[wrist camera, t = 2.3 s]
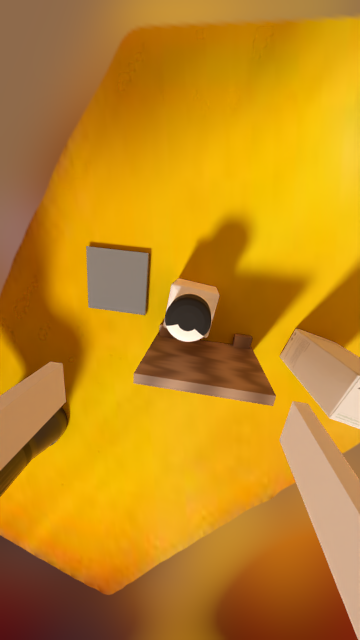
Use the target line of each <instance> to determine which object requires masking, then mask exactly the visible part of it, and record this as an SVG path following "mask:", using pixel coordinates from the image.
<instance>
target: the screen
mask: <svg viewBox="0 0 360 640" xmlns="http://www.w3.org/2000/svg"><path fill="white" fill-rule="evenodd" d="M163 325H164V324H162V323H161V324H160V330H159V334H157V336H156V337H155V339H154V341H153V342H152V344H151V346H150V347H149V349H148V351H147V352H146V354H145V356H144V357H143V359H142V361H141V362H140V364H139V366H138V367H137V369H136V371H135V372H134V383H136V384H142V385H148V386H155V387H161V388H167V389H173V390H179V391H185V392H191V393H197V394H203V395H209V396H216V397H222V398H228V399H234V400H240V401H246V402H252V403H258V404H264V405H271V406H273V404H274V401H275V397H276V395H275V393H274V391H273V389H272V387H271V385H270V383H269V381H268V379H267V377H266V375H265V373H264V371H263V369H262V367H261V365H260V363H259V361H258V359H257V357H256V355H255V353H254V352H253V350H252V348H251V347H250V346H251V342H252V336H248V335H241V334H235V335H234V340H233V345H232V344H225V343H218V342H211V341H204V340H197V341H192V342H185V341H181V340H179V339H177V338H175V337H174V336H172V335H171V334H170V332H169V331H168V329H167V328H164V326H163Z"/></svg>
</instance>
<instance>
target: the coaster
mask: <svg viewBox="0 0 360 640" xmlns="http://www.w3.org/2000/svg"><path fill="white" fill-rule="evenodd" d="M86 248H87V275H88V303H89V307H90V308H97V309H105V310H112V311H119V312H127V313H134V314H141V315H145V314H146V307H147V289H148V271H149V253H143V252H134V251H125V250H116V249H107V248H98V247H89V246H86Z"/></svg>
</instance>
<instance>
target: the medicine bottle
mask: <svg viewBox="0 0 360 640" xmlns="http://www.w3.org/2000/svg"><path fill="white" fill-rule="evenodd" d="M218 299H219V293H218V290H217V288H216V287H214V286H210V285H206V284H201V283H197V282H193V281H189V280H184V279H180V278H178V279H177V280H176V281H175V282H174V283H173V284H172V285H171V290H170V295H169V300H168V305H167V310H166V315H165V320H164V325H163V326H164V328H167V329H168V331H169V332H170V334H171V335H172V336H174V337H175V338H177V339H179V340H181V341H185V342H192V341H197V340H199V339H201V338H202V337H204V338H207V337H208V335H209V331H210V328H211V324H212V321H213V317H214V314H215V310H216V306H217V303H218Z"/></svg>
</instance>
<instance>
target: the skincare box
mask: <svg viewBox="0 0 360 640" xmlns="http://www.w3.org/2000/svg"><path fill="white" fill-rule="evenodd" d="M280 358H281V359H282V360H283V362H284V363H285V364H286V365H287V366H288V368H289V369H290V370H291V371H292V373H293V374H294V375H295V376H296V377H297V379H298V380H299V381H300V382H301V384H302V385H303V386H304V387H305V388H306V390H307V391H308V392H309V393H310V395H311V396H312V397H313V398H314V399H315V401H316V402H317V403H318V404H319V406H320V407H321V408H322V409H323V411H324V412H325V413H326V414H327V416H328V417H329V418H330V419H333V420H336V421H339V422H342V423H345V424H347V425H350V426H353V427H356V428H358V429H360V357H358V356H356V355H355V354H353V353H352V352H350V351H348V350H347V349H345V348H344V347H342V346H340V345H339V344H337V343H335V342H333V341H330V340H328V339H325V338H322V337H320V336H317V335H314V334H312V333H309V332H306V331H303V330H300V329H297V328H296V329H295V331H294V333H293V334H292V336H291V338H290V339H289V341H288V343H287V345H286V346H285V348H284V350H283V351H282V353H281V355H280Z"/></svg>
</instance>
